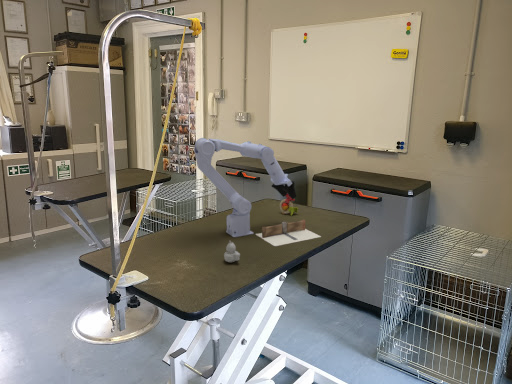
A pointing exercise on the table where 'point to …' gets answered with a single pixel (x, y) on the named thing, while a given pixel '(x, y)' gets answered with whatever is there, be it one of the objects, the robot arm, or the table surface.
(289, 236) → the card
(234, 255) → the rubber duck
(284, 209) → the bird rattle
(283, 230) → the fixed fence section
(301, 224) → the brown wooden bar
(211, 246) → the table surface
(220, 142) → the robot arm
